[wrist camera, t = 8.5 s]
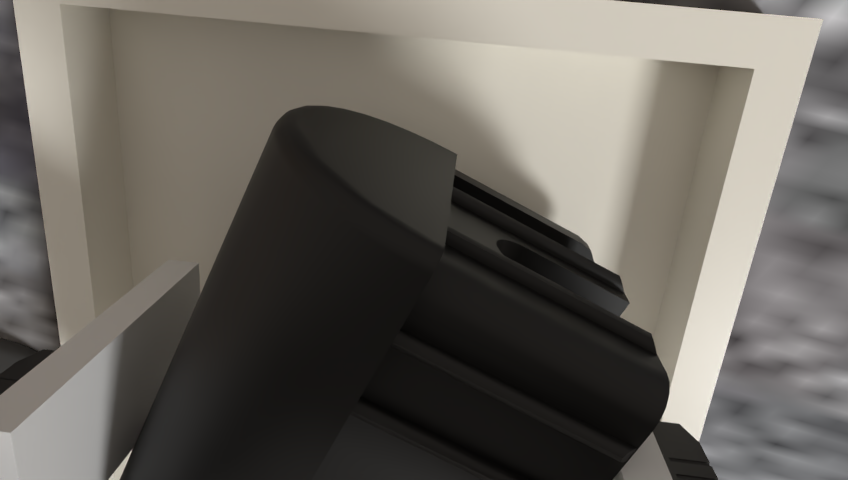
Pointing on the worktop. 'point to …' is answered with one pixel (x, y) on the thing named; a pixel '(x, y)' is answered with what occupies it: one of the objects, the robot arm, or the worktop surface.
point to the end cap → (397, 329)
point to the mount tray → (424, 133)
